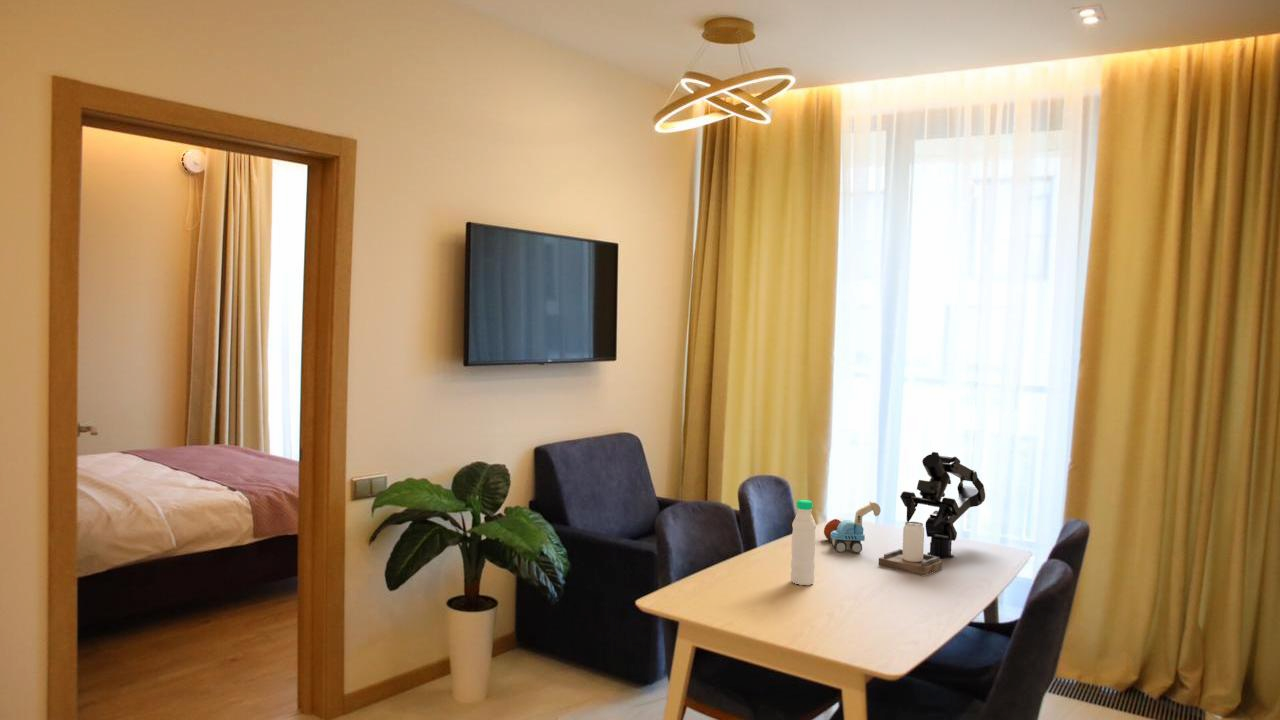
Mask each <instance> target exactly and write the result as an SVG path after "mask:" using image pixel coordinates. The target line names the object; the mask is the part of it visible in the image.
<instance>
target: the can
mask: <svg viewBox="0 0 1280 720" xmlns="http://www.w3.org/2000/svg"><path fill="white" fill-rule="evenodd" d="M902 528H903V531H902V532H903V533H902V550H903V555H902V558H903V560H905V561H908V562H922V561H923V554H924V547H925V546H924V545H925V527H924V524H923V522H918V521H909V522H907V521H905V522H904V526H903V527H902Z"/></svg>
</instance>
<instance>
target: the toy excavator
mask: <svg viewBox="0 0 1280 720" xmlns="http://www.w3.org/2000/svg"><path fill="white" fill-rule="evenodd" d="M871 512H873V515H874V516H875V517H879V515H880V513H881V507H880V505H879V504H878V503H877V502H876V501H869V504H867V505H864V506H862V507H860V508H859V509H857V510H856V512H855V516H854V522H853V521H852V520H850V519H844V520H842V521H841V522H840V523H839V525H838V527H837V530H836V531H832V532H831V540H829V543H830V545H831V547H833V548H834V550H835V551H836V552H837V553H844V552H846V550H847V551H849V550H850V551H851V552H852V553H855V554H859V553H861V552H862V551H863V544H862V543H861V542H863V541H864V542H865V534H864V527H863V517H864V516H866V515H867V514H869V513H871Z"/></svg>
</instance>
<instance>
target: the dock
mask: <svg viewBox="0 0 1280 720" xmlns="http://www.w3.org/2000/svg"><path fill="white" fill-rule="evenodd" d="M902 555H903V548H902V549H901V548H898V549H895V550H892V551H890V552H887V553H883V556H881V557H878V567H883V568H887V569H892V570H896V571H900V572H905V573H909V574H913V573H914V575H917V574H919V575H918V576H922V575H924V576H923V577H925V575H926V576H928V575H931V574H933V573H935V572H934V571H936V572H938V571H940V570H939V569H941V568H942V569H943V561H942V560H940V558H939V557H936V556H932V555H929V554H926V553H923V561H922V562H908V561H905V560H903V558H902ZM942 569H941V570H942ZM937 570H938V571H937ZM932 572H933V573H932ZM930 573H931V574H930ZM927 574H928V575H927Z"/></svg>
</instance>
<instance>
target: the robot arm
mask: <svg viewBox="0 0 1280 720" xmlns="http://www.w3.org/2000/svg"><path fill="white" fill-rule="evenodd" d="M921 462H922V465H923V467H924V469H925V471H926V473H927V475H928V476H929V477H930V479H929V480H922V479H918V481H917V482H918V483H917V486H916V490H917V491H919V495H920V496H921V497H919V496H916V493H915V492H911V491H908V490H907V491H906V490H903V491H902V492H901V494H900V496H899V498H900V499H901V501H902V503H903V505H904V506H905V507H906V522H911V521H910V520H912V518H913V517H914V514H915V513H916V511H917V509H916V508H917V507H918V505H924V506H925V505H926V506H928V507H935V508H939V509H938V510H934V511H933V512H932V513H931V514H929V517H928V518H927V519H926V521H925V531H926V537H928V538H930V543H929V552H927V554H926V555H931V556H936V557H939V559H945V558H944V557H948V558H953V557H952V556H954V557H955V555H954V554H952V541H956V539H957V537H958V535H957V534H958V532H957V530H956V528H955V526H954V523H955V522H956V521H957V520H958V519H959V518H961V517H962V516H963V515H964V514H965V513H966V511H968V510H969V509H970V508H975V507H978V506H980V505H982V504H983V502H985V499H986V490H985V486H984V484H983V482H982V481H981V480H980V478H979V477H978V474H977V471H975V470H974V469H973V470H972V469H970V468H969V467H967V466H965V465H963V464H962V463H961V460H960V459H959V458H958V457H957V456H952V455H945V454H944V455H943V454H939V452H937V451H932V452H931V454H928V455H926V456H925V457H924V458H922V461H921ZM950 474H951V475H952V476H953V475H954V476H955V477H957V478H959V480H960V482H959V483H958V485H957V492H958V498H956V499H955V498H950V497H945V496H946V494H945V491H946V489H947V486H948V485H952V481H951V476H950ZM964 481H966V482H971V483H972V484H973V485H972V486H968V485H964V483H963V482H964Z"/></svg>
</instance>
